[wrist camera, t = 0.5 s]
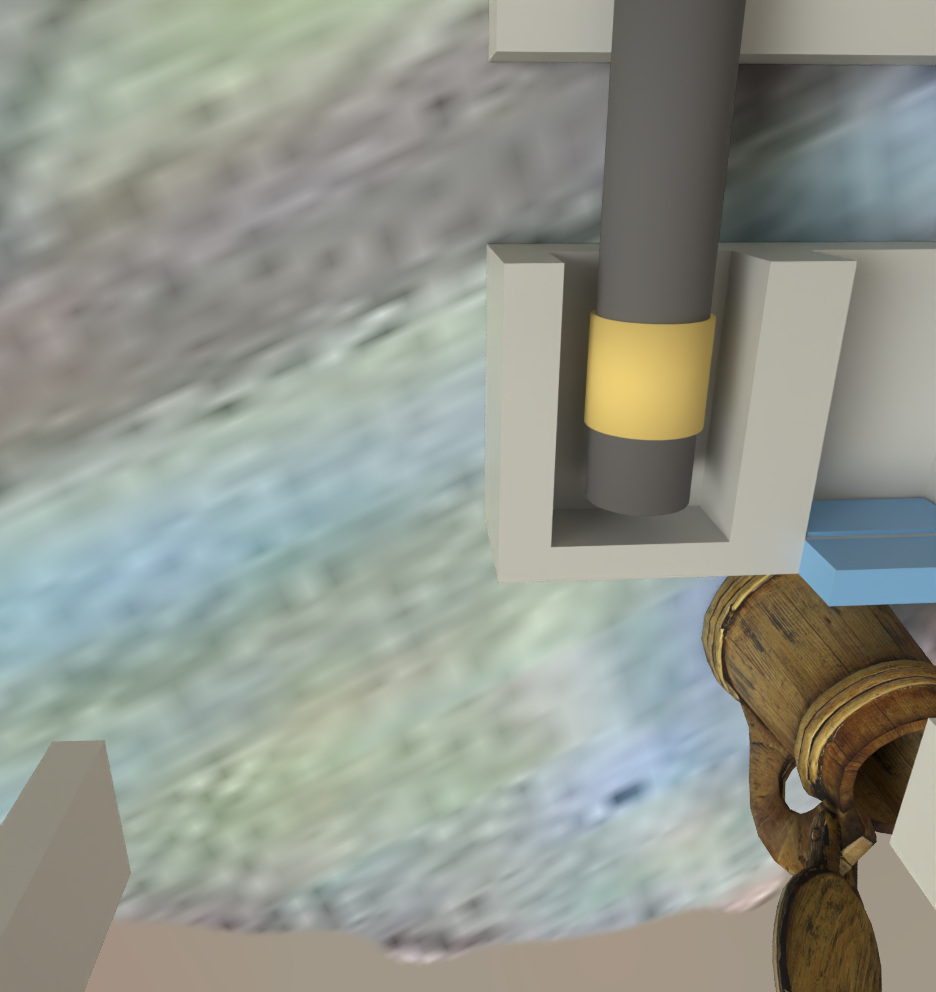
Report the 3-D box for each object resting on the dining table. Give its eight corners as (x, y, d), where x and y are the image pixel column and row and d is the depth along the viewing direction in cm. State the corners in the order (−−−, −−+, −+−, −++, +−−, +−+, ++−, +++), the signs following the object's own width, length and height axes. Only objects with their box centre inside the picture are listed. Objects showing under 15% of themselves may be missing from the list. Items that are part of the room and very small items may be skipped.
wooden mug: (599, 682, 41) (727, 1038, 24) (807, 505, 38) (1117, 777, 21) (707, 770, 44) (886, 1142, 27) (908, 612, 40) (1252, 926, 24)
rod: (596, -34, 26) (631, -73, 22) (727, -32, 26) (785, -70, 22) (570, 477, 33) (593, 520, 29) (674, 474, 33) (711, 516, 29)
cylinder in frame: (489, -2, 29) (521, -67, 20) (1067, 6, 30) (1317, -52, 22) (484, 514, 37) (505, 617, 28) (939, 502, 38) (1086, 597, 30)
